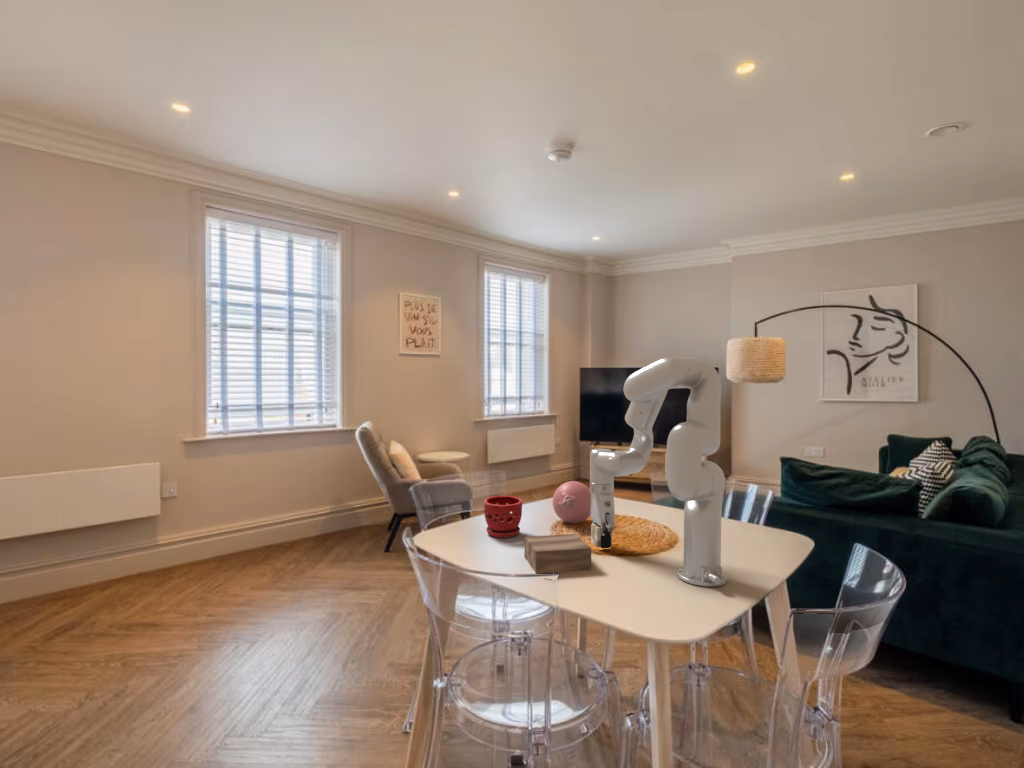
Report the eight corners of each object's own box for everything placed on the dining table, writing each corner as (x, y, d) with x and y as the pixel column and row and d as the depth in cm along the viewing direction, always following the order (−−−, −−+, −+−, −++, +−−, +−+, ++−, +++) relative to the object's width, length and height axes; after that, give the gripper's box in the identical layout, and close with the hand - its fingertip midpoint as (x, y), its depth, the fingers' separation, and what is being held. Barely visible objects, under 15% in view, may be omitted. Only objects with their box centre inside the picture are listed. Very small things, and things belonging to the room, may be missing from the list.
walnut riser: (591, 569, 150) (591, 548, 150) (535, 573, 147) (536, 551, 147) (575, 553, 164) (575, 533, 164) (524, 556, 161) (524, 536, 160)
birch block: (611, 549, 168) (611, 527, 168) (596, 550, 167) (596, 528, 167) (605, 544, 173) (605, 523, 173) (591, 545, 172) (591, 524, 172)
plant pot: (478, 531, 187) (478, 497, 187) (512, 527, 192) (512, 494, 192) (492, 541, 175) (492, 505, 175) (528, 537, 180) (528, 501, 180)
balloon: (540, 527, 192) (540, 485, 192) (561, 515, 209) (562, 476, 209) (580, 533, 185) (581, 489, 184) (599, 520, 202) (599, 480, 202)
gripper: (623, 493, 162) (623, 552, 162) (602, 482, 179) (602, 535, 179) (600, 494, 160) (600, 553, 160) (581, 483, 177) (581, 536, 177)
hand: (601, 543), depth 170 cm, fingers open, 6 cm apart
